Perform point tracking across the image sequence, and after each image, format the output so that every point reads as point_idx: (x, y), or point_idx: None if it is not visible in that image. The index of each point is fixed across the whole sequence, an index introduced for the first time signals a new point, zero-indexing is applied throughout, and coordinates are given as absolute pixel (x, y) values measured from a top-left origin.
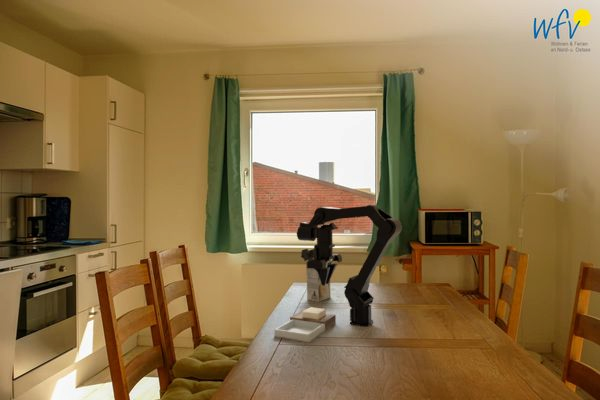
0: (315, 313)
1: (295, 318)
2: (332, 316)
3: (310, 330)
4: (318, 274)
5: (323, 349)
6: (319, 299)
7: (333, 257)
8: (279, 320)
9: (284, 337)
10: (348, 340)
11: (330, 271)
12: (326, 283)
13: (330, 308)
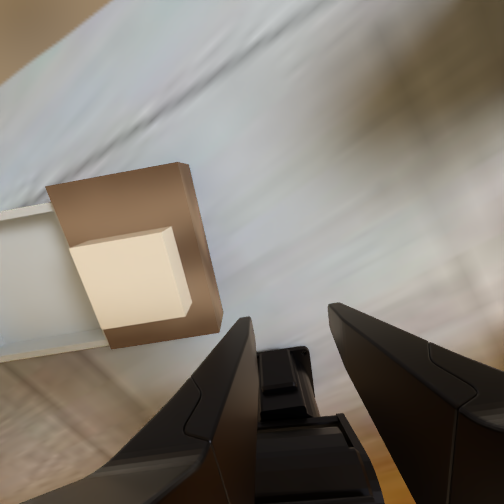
0: (96, 316)
1: (60, 217)
2: (190, 335)
3: (83, 296)
4: (163, 408)
5: (7, 402)
6: None
7: None
8: (94, 80)
9: None
10: (114, 416)
11: (422, 495)
12: (328, 314)
13: (412, 174)
